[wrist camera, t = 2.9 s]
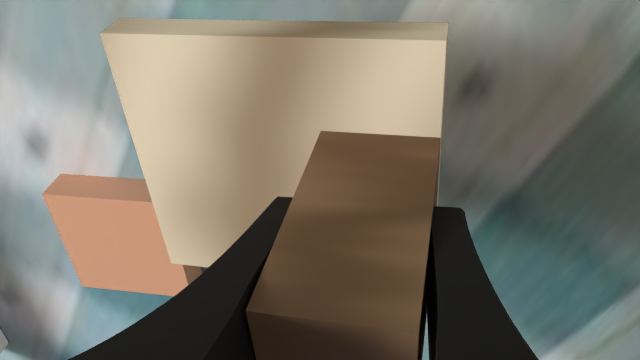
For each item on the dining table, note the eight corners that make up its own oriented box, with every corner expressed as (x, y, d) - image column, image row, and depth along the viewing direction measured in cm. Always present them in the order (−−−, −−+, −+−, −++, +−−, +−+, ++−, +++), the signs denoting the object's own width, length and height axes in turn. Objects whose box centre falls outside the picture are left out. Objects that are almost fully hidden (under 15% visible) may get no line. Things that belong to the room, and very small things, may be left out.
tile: (205, 269, 30) (191, 298, 29) (101, 259, 32) (82, 286, 30) (182, 176, 27) (165, 203, 25) (65, 168, 28) (42, 194, 26)
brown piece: (448, 23, 14) (423, 216, 8) (433, 269, 18) (411, 495, 13) (119, 17, 15) (-82, 172, 10) (183, 242, 20) (70, 430, 15)
